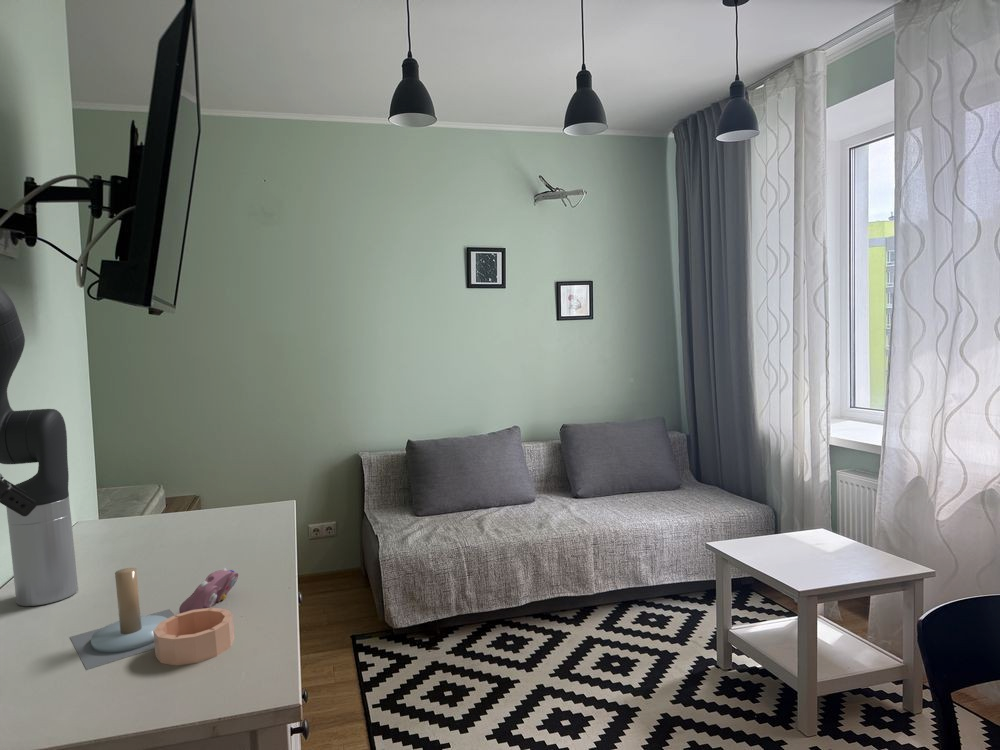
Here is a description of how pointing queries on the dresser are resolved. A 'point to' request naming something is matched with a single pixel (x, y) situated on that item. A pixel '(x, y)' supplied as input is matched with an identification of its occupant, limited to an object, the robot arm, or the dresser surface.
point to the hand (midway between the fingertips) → (27, 505)
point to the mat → (99, 658)
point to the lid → (126, 619)
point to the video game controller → (210, 590)
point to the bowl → (194, 636)
